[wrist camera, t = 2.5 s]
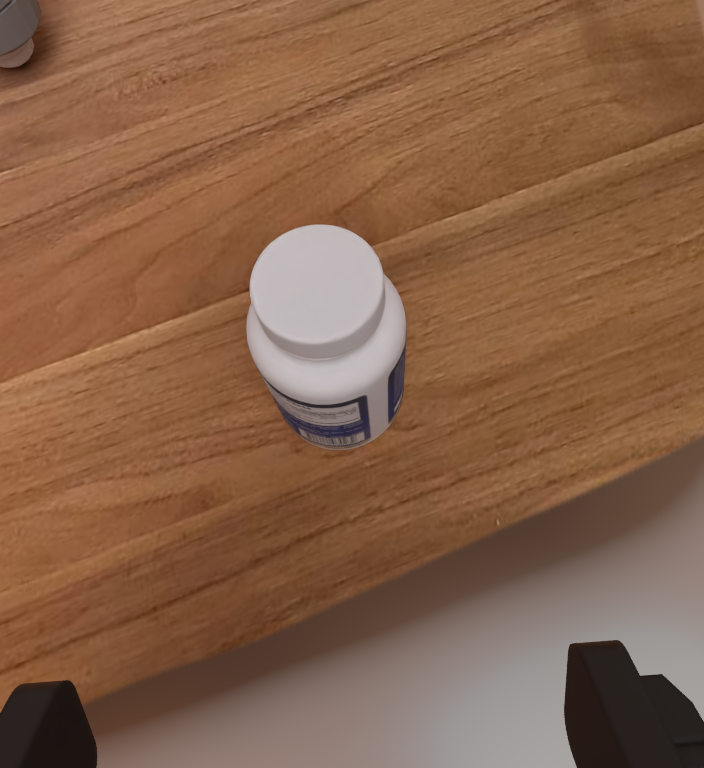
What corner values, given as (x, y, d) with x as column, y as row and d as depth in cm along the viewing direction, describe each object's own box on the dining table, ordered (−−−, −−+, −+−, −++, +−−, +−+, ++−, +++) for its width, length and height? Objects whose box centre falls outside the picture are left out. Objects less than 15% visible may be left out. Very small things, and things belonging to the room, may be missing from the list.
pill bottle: (346, 313, 29) (327, 171, 20) (428, 395, 28) (449, 283, 18) (253, 389, 28) (188, 276, 19) (333, 479, 27) (305, 403, 17)
